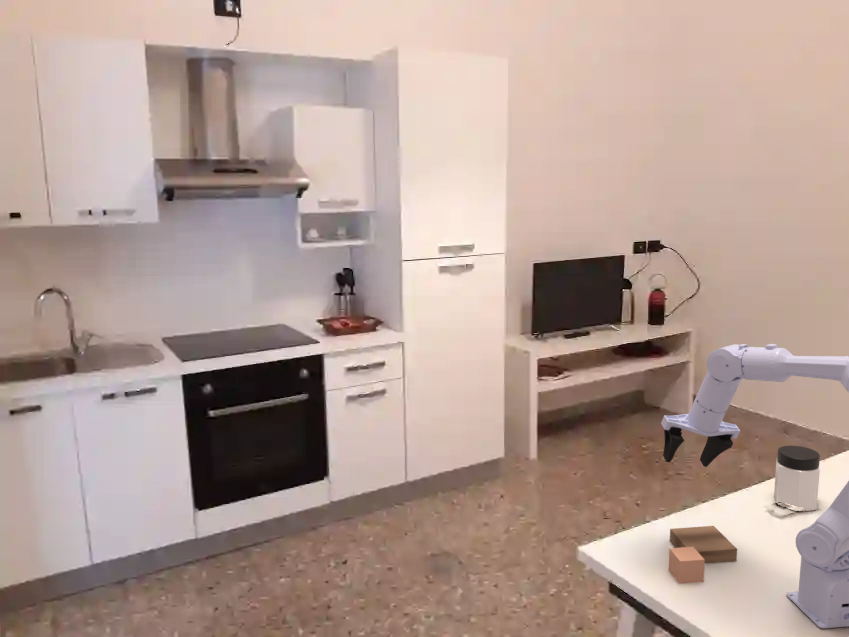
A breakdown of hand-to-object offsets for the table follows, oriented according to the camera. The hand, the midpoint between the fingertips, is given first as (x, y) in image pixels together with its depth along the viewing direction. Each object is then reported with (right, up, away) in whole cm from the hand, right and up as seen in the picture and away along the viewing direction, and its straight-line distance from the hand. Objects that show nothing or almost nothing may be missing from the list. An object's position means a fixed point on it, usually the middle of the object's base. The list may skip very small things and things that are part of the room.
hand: (684, 461), depth 133 cm
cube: (-3, -20, -7) cm, 21 cm away
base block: (+4, -18, +1) cm, 18 cm away
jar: (+31, -14, +19) cm, 39 cm away
